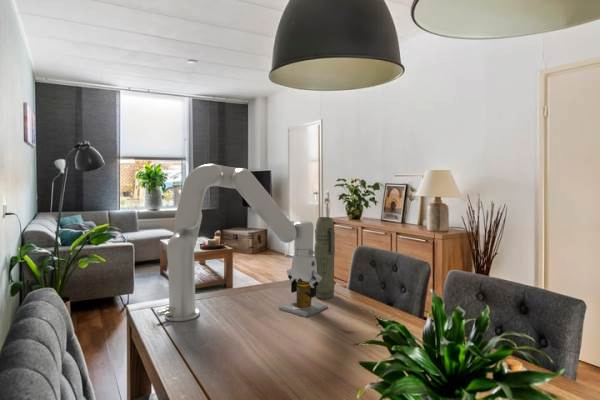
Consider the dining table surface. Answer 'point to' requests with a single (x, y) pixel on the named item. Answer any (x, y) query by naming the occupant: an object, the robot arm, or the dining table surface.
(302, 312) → the plate
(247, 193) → the robot arm
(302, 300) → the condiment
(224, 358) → the dining table surface
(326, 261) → the thermos
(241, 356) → the dining table surface
